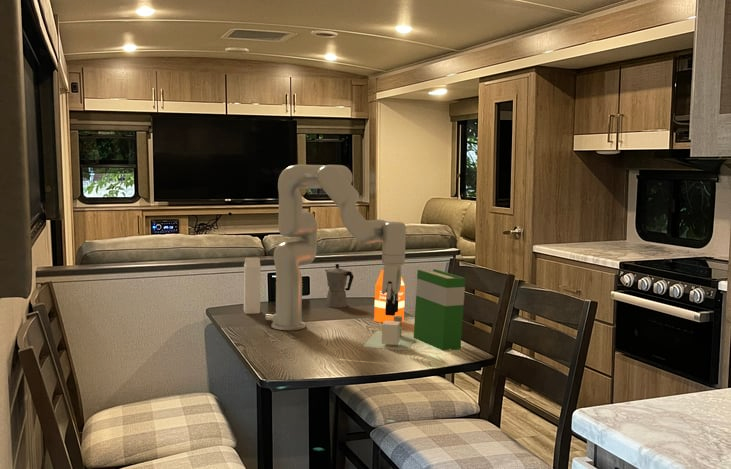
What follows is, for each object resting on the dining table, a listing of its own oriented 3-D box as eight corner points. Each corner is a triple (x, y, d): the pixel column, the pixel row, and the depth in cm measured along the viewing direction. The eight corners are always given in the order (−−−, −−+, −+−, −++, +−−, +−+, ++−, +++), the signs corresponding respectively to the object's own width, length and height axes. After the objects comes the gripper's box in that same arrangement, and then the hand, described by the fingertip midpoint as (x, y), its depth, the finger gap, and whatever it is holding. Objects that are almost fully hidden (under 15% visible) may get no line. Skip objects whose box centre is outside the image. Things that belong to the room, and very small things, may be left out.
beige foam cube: (381, 343, 225) (382, 324, 224) (384, 339, 230) (385, 320, 229) (397, 344, 224) (397, 325, 223) (399, 341, 229) (400, 321, 228)
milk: (260, 313, 271) (261, 258, 269) (244, 313, 270) (245, 259, 267) (258, 310, 277) (259, 256, 275) (243, 310, 275) (244, 256, 273)
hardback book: (413, 337, 238) (417, 269, 235) (431, 335, 241) (435, 269, 239) (442, 351, 223) (447, 278, 220) (460, 349, 226) (465, 278, 223)
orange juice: (392, 325, 257) (394, 273, 255) (373, 321, 262) (375, 270, 260) (404, 322, 263) (405, 271, 261) (385, 318, 268) (387, 268, 266)
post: (392, 336, 239) (393, 316, 238) (394, 334, 241) (394, 315, 240) (400, 337, 238) (400, 317, 237) (401, 335, 241) (402, 315, 240)
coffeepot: (317, 304, 290) (318, 263, 289) (332, 301, 298) (333, 261, 296) (344, 310, 281) (346, 267, 279) (359, 307, 288) (360, 265, 286)
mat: (362, 347, 224) (362, 346, 224) (376, 332, 246) (376, 331, 246) (407, 351, 221) (407, 350, 221) (417, 335, 243) (417, 334, 243)
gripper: (387, 255, 233) (385, 307, 235) (377, 262, 216) (375, 318, 218) (408, 256, 231) (406, 309, 233) (400, 263, 215) (398, 319, 217)
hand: (391, 312), depth 226 cm, fingers open, 4 cm apart
